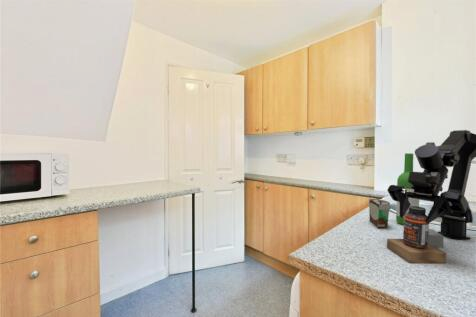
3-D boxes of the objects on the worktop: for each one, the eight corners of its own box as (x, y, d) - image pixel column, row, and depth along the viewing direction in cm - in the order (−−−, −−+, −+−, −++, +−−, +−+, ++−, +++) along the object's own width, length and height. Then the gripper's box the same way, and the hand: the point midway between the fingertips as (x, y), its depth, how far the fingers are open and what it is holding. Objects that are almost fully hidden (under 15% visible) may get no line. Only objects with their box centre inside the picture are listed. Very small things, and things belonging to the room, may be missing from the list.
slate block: (432, 240, 82) (432, 229, 82) (443, 248, 75) (443, 236, 75) (408, 238, 84) (409, 227, 84) (417, 245, 77) (417, 233, 77)
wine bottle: (411, 227, 95) (413, 153, 94) (391, 222, 102) (393, 153, 101) (422, 225, 98) (425, 153, 97) (403, 220, 105) (405, 153, 104)
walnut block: (418, 248, 75) (418, 238, 75) (445, 263, 65) (446, 252, 65) (386, 247, 75) (387, 238, 75) (409, 262, 65) (409, 252, 65)
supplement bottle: (398, 243, 71) (400, 206, 71) (409, 239, 74) (411, 204, 73) (421, 250, 66) (423, 211, 65) (432, 247, 69) (434, 208, 68)
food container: (396, 230, 91) (397, 205, 91) (379, 229, 92) (379, 204, 92) (383, 221, 103) (384, 198, 103) (368, 220, 104) (368, 198, 104)
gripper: (390, 160, 79) (370, 196, 74) (464, 163, 63) (445, 209, 58) (402, 182, 83) (384, 217, 78) (474, 190, 67) (457, 235, 62)
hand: (413, 219), depth 69 cm, fingers open, 6 cm apart
